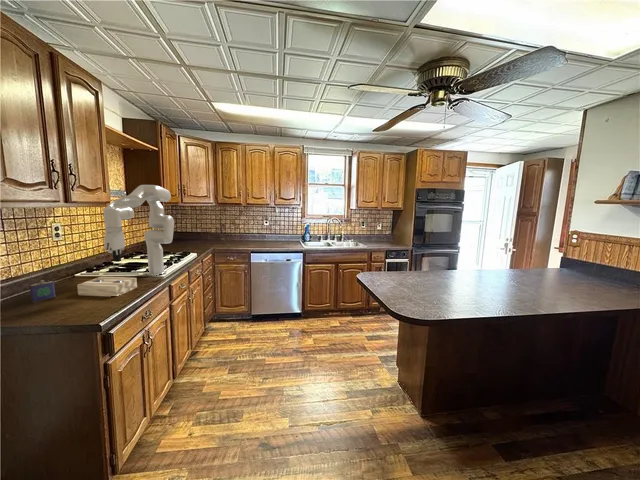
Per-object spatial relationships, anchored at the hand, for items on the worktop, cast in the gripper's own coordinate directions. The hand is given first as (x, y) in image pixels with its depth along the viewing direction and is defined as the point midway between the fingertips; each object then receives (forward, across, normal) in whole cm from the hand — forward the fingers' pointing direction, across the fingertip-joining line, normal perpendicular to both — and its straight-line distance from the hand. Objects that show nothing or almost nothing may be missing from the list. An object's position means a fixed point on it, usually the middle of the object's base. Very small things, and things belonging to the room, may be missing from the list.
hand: (117, 261), depth 157 cm
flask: (+18, +17, -28) cm, 37 cm away
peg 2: (+17, +1, 0) cm, 17 cm away
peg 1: (+17, +1, -12) cm, 21 cm away
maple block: (+18, +1, -6) cm, 19 cm away
